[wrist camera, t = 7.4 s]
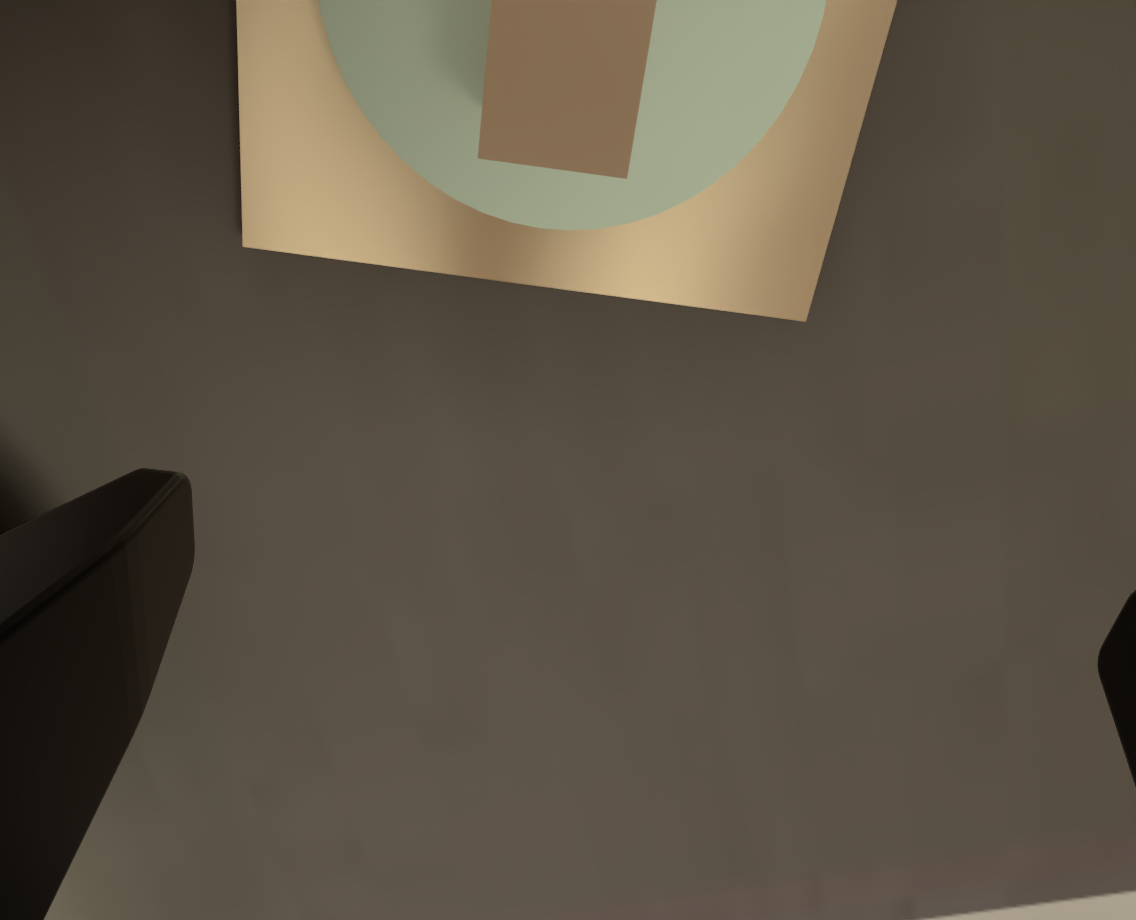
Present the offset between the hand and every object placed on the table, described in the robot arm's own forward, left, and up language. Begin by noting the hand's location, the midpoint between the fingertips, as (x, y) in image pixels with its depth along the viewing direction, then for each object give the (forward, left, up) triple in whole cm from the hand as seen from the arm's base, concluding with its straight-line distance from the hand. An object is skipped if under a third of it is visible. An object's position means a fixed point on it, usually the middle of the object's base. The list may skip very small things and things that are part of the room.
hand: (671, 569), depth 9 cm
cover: (+1, -4, -12) cm, 13 cm away
